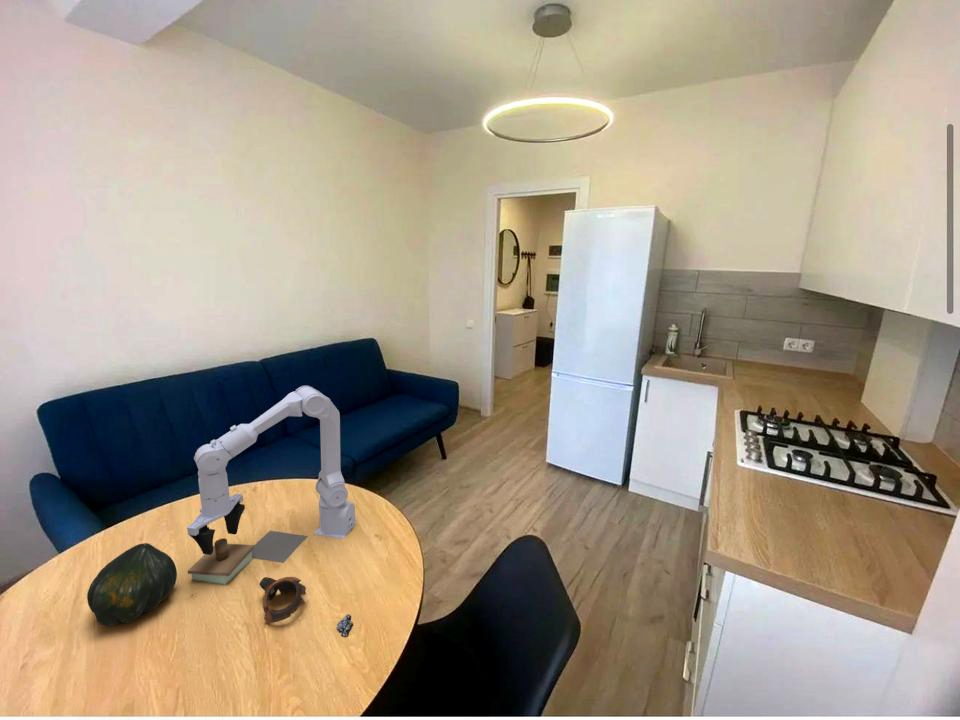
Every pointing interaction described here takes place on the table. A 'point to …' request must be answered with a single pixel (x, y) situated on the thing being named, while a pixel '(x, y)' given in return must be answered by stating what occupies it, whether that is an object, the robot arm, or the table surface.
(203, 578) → the dish
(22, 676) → the table surface
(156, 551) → the squash
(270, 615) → the pottery mug
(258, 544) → the mat
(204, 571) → the lid
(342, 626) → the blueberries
